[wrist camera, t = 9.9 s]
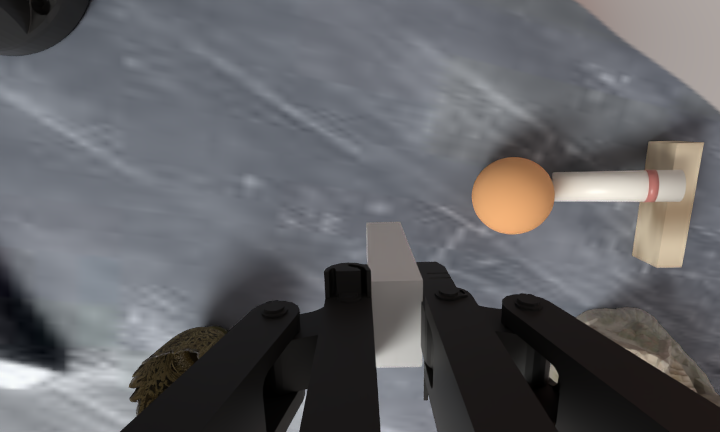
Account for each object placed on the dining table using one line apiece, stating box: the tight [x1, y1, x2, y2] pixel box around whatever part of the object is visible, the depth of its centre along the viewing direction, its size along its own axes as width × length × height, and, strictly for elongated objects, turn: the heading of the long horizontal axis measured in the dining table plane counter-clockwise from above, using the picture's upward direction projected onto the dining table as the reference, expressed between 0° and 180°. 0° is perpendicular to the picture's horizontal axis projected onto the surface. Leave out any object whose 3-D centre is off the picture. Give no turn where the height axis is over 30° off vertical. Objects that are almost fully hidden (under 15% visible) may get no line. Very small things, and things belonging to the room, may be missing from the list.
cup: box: [129, 326, 228, 416], centre depth 33 cm, size 8×7×8 cm
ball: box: [472, 157, 555, 234], centre depth 30 cm, size 6×6×6 cm
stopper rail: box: [632, 141, 704, 268], centre depth 32 cm, size 10×2×3 cm, turn 1°
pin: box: [552, 169, 686, 202], centre depth 30 cm, size 2×2×8 cm
